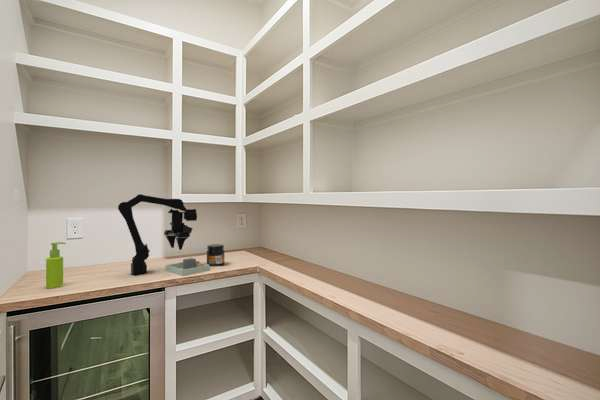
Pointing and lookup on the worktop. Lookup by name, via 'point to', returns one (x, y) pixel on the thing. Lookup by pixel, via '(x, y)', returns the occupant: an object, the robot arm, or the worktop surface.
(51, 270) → the soap dispenser
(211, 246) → the supplement container
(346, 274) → the worktop surface
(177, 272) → the bay
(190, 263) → the connector
